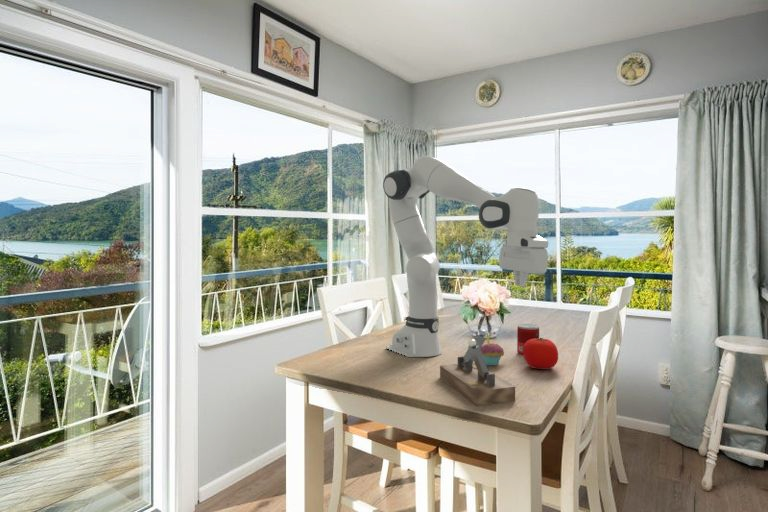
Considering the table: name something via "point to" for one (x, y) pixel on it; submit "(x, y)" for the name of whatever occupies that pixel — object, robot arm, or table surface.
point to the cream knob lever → (478, 359)
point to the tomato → (540, 353)
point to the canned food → (526, 335)
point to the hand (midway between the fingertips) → (520, 286)
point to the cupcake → (491, 353)
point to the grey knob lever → (479, 342)
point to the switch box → (477, 383)
